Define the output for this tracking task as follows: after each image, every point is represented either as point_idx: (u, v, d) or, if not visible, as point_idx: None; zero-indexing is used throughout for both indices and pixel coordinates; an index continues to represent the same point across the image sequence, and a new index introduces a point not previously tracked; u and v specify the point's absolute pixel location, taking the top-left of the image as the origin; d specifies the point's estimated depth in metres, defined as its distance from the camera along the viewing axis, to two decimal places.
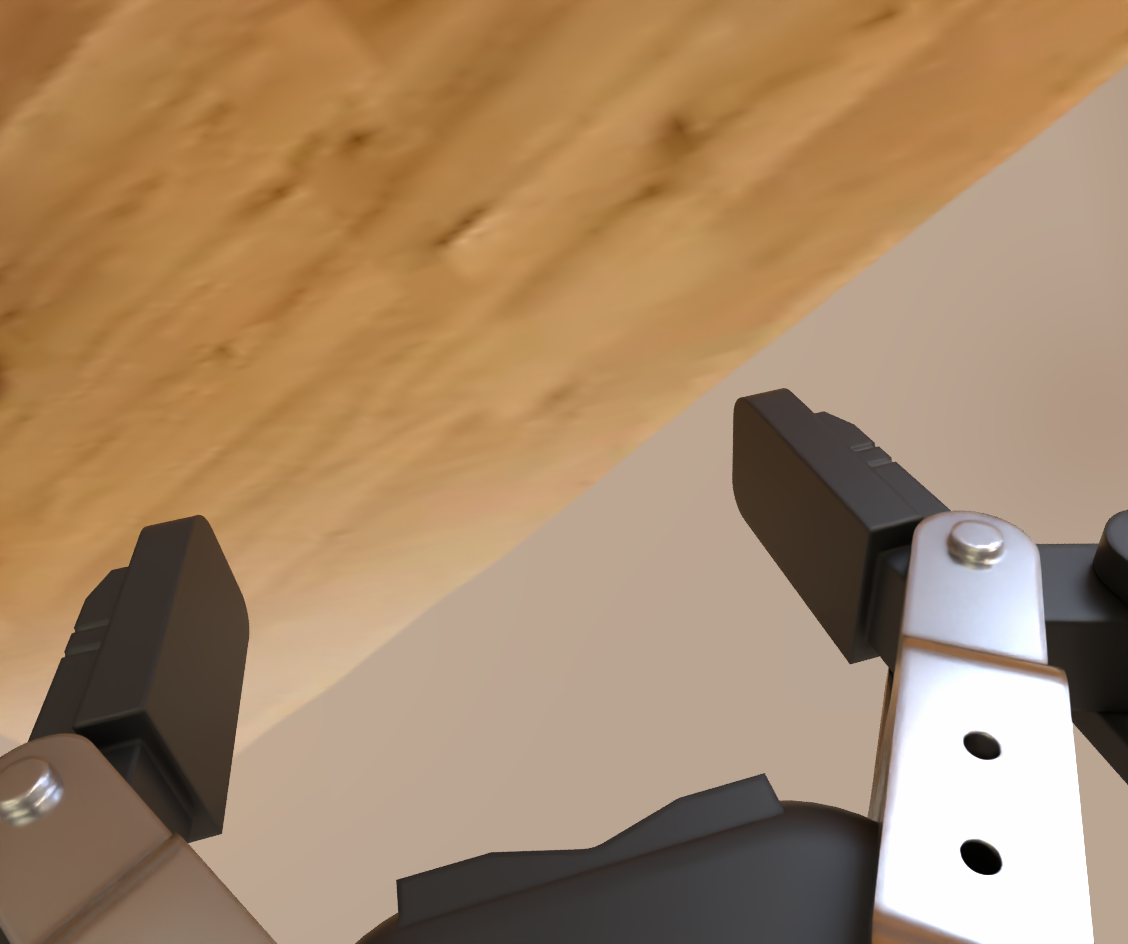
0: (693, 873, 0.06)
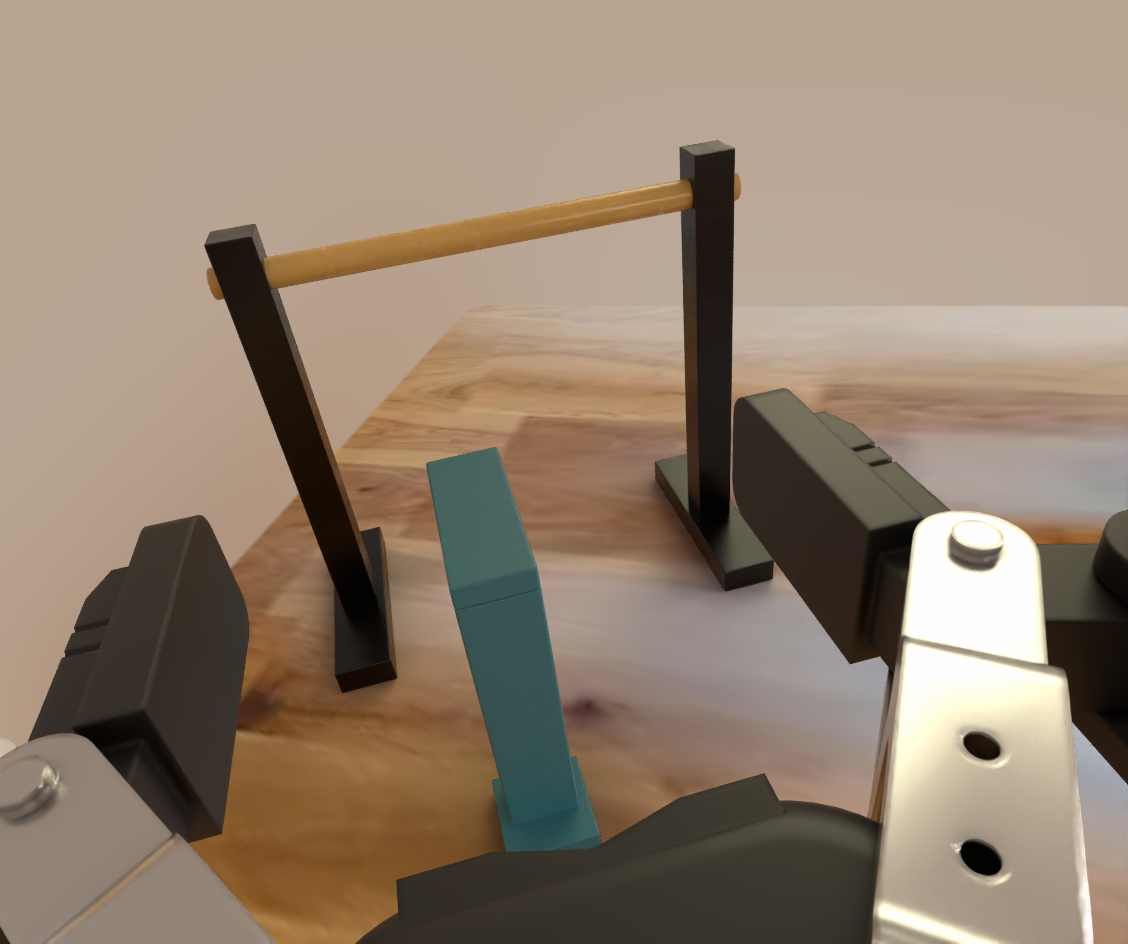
0: (693, 873, 0.06)
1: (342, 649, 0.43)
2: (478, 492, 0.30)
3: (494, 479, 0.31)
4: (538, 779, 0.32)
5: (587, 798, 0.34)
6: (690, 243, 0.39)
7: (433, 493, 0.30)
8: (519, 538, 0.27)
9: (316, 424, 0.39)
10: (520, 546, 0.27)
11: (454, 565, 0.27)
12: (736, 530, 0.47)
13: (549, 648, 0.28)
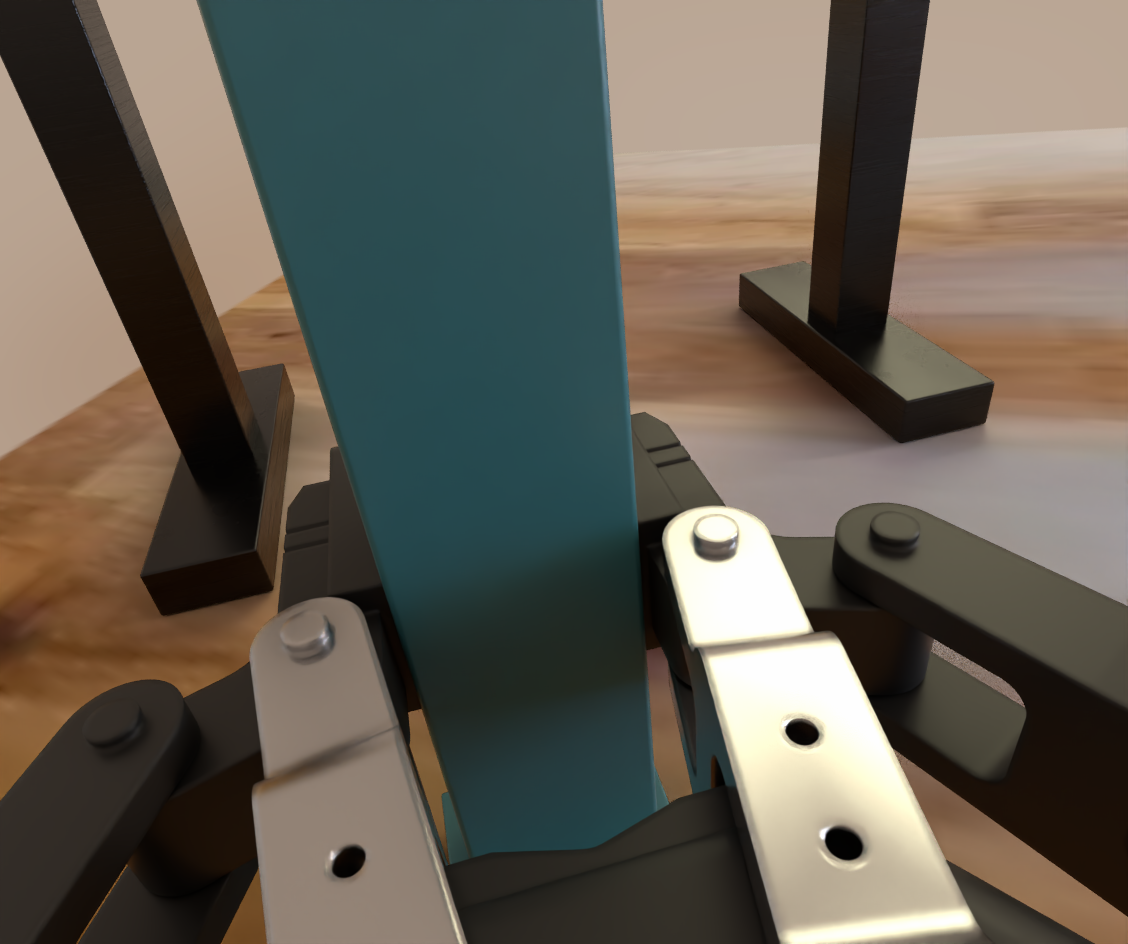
0: (693, 873, 0.06)
1: (168, 533, 0.22)
2: None
3: None
4: (559, 792, 0.11)
5: None
6: None
7: None
8: None
9: (81, 22, 0.18)
10: None
11: None
12: (907, 346, 0.26)
13: (616, 294, 0.07)
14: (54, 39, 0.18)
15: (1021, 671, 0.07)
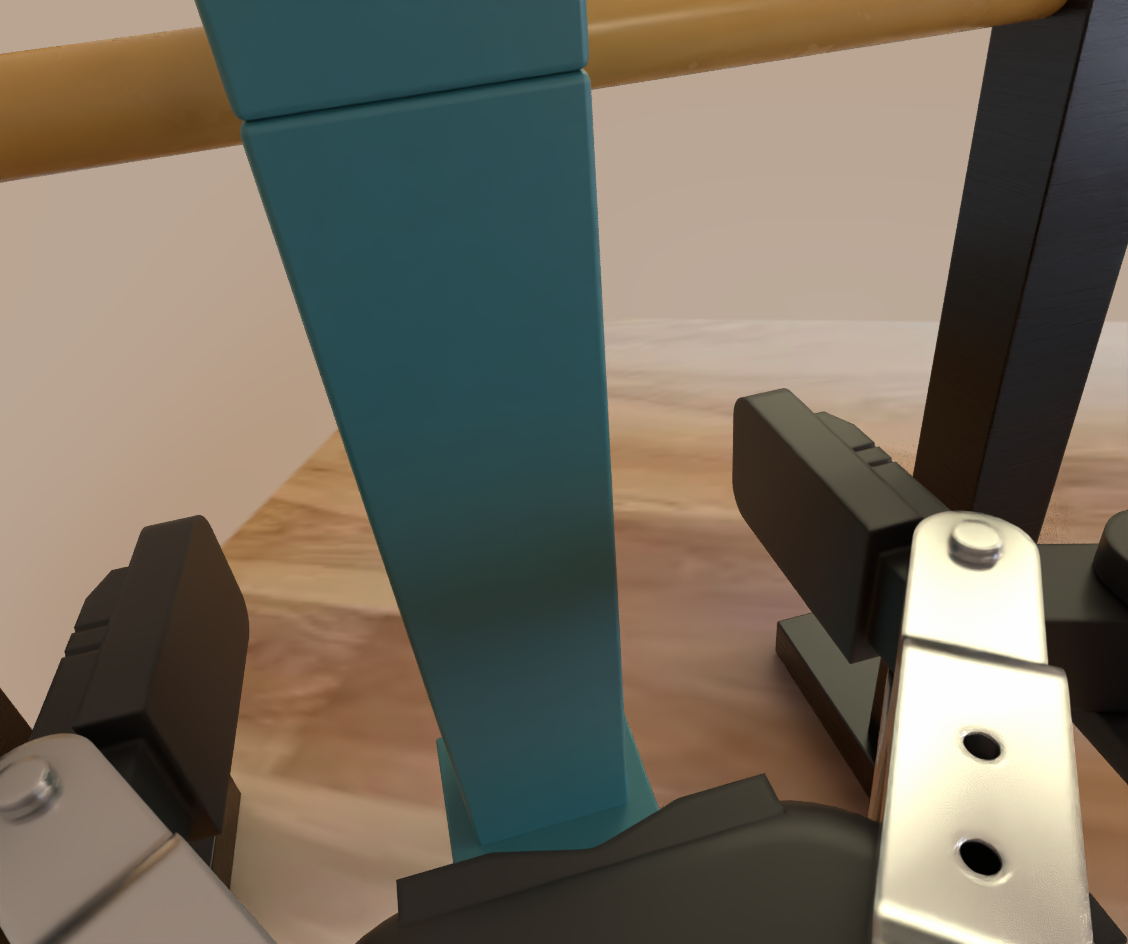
0: (693, 873, 0.06)
1: None
2: None
3: None
4: (542, 749, 0.13)
5: (646, 784, 0.15)
6: (1021, 135, 0.13)
7: None
8: None
9: None
10: None
11: None
12: None
13: (599, 361, 0.09)
14: None
15: None
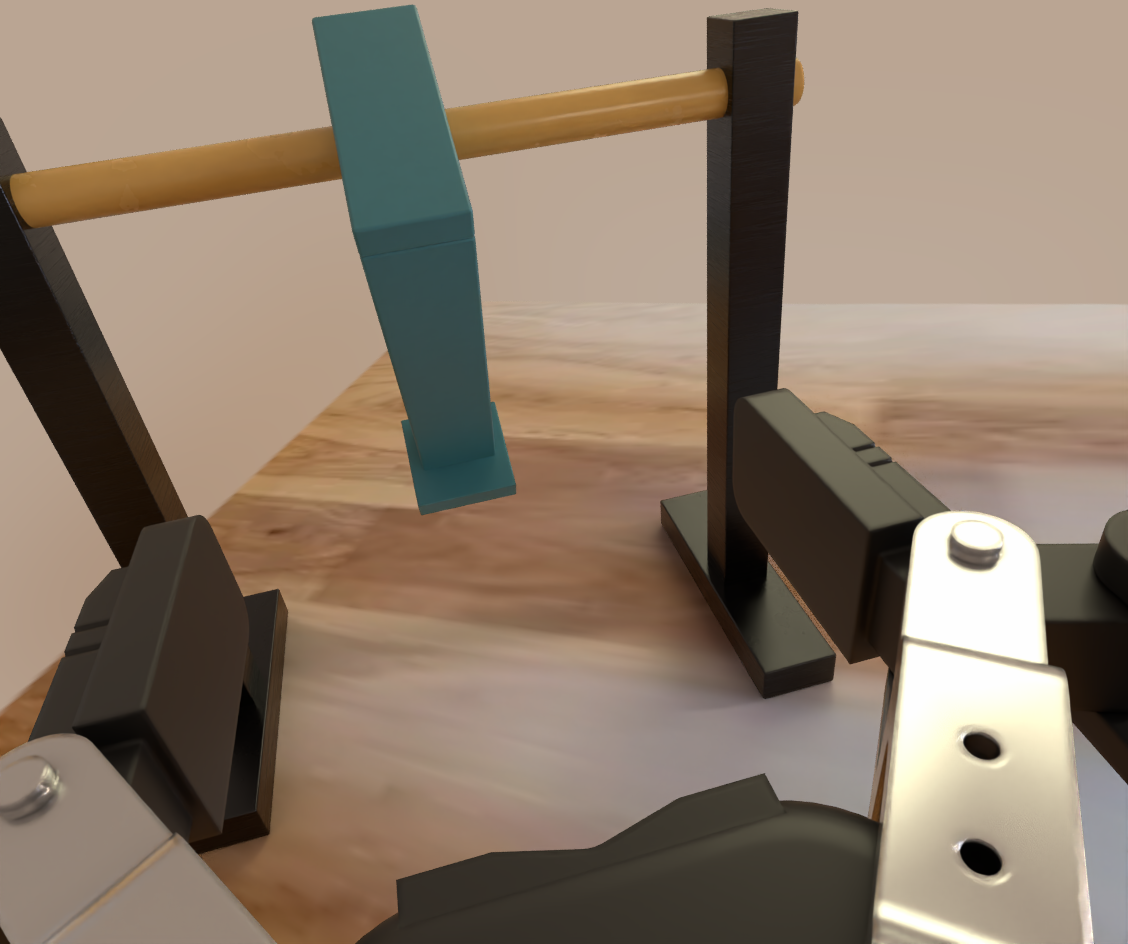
0: (693, 873, 0.06)
1: None
2: (389, 79, 0.21)
3: (412, 60, 0.22)
4: (454, 432, 0.29)
5: (504, 447, 0.32)
6: (720, 175, 0.25)
7: (324, 72, 0.21)
8: (447, 161, 0.20)
9: (130, 450, 0.25)
10: (450, 174, 0.20)
11: (358, 194, 0.20)
12: (778, 605, 0.33)
13: (479, 306, 0.23)
14: (110, 463, 0.25)
15: None
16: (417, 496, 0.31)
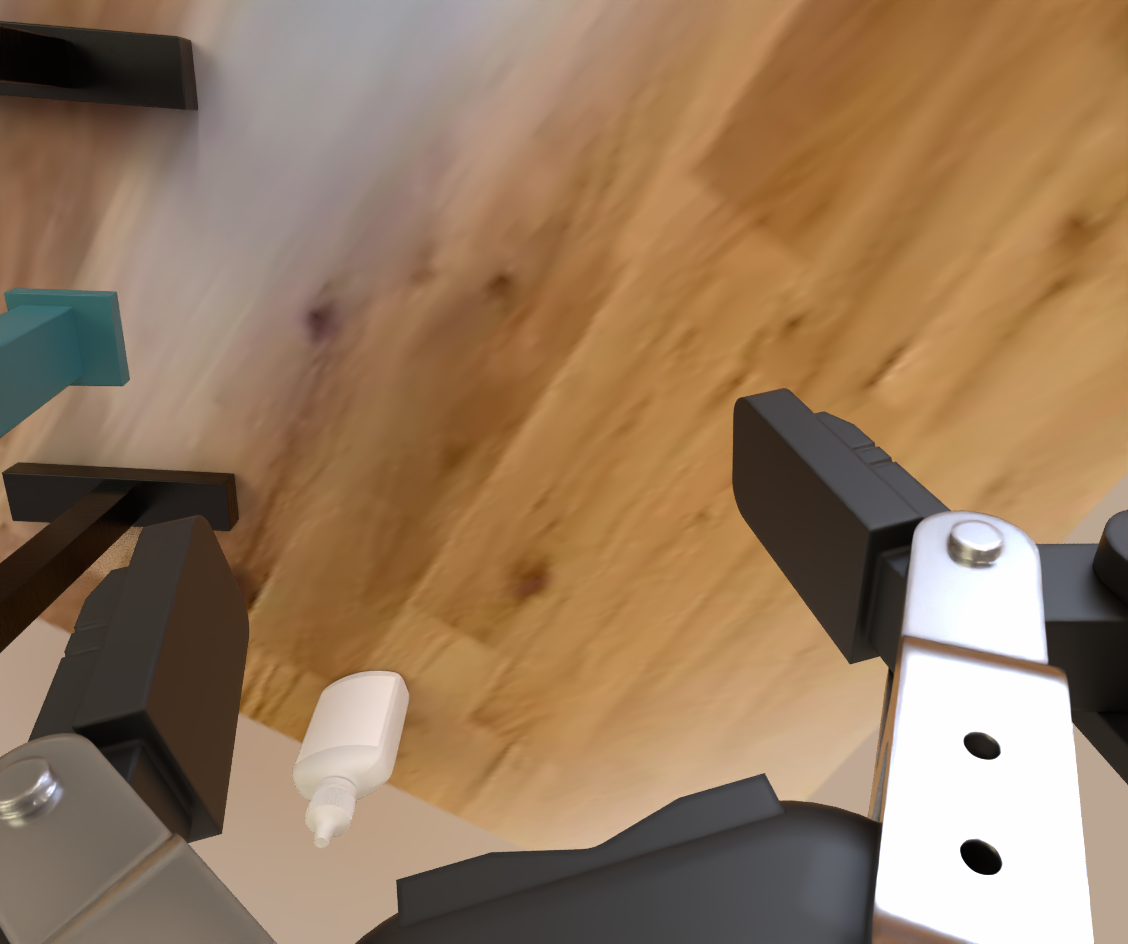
0: (693, 873, 0.06)
1: None
2: None
3: None
4: (52, 357, 0.31)
5: (63, 295, 0.33)
6: None
7: None
8: None
9: None
10: None
11: None
12: (108, 52, 0.35)
13: None
14: (5, 617, 0.33)
15: None
16: (112, 385, 0.35)
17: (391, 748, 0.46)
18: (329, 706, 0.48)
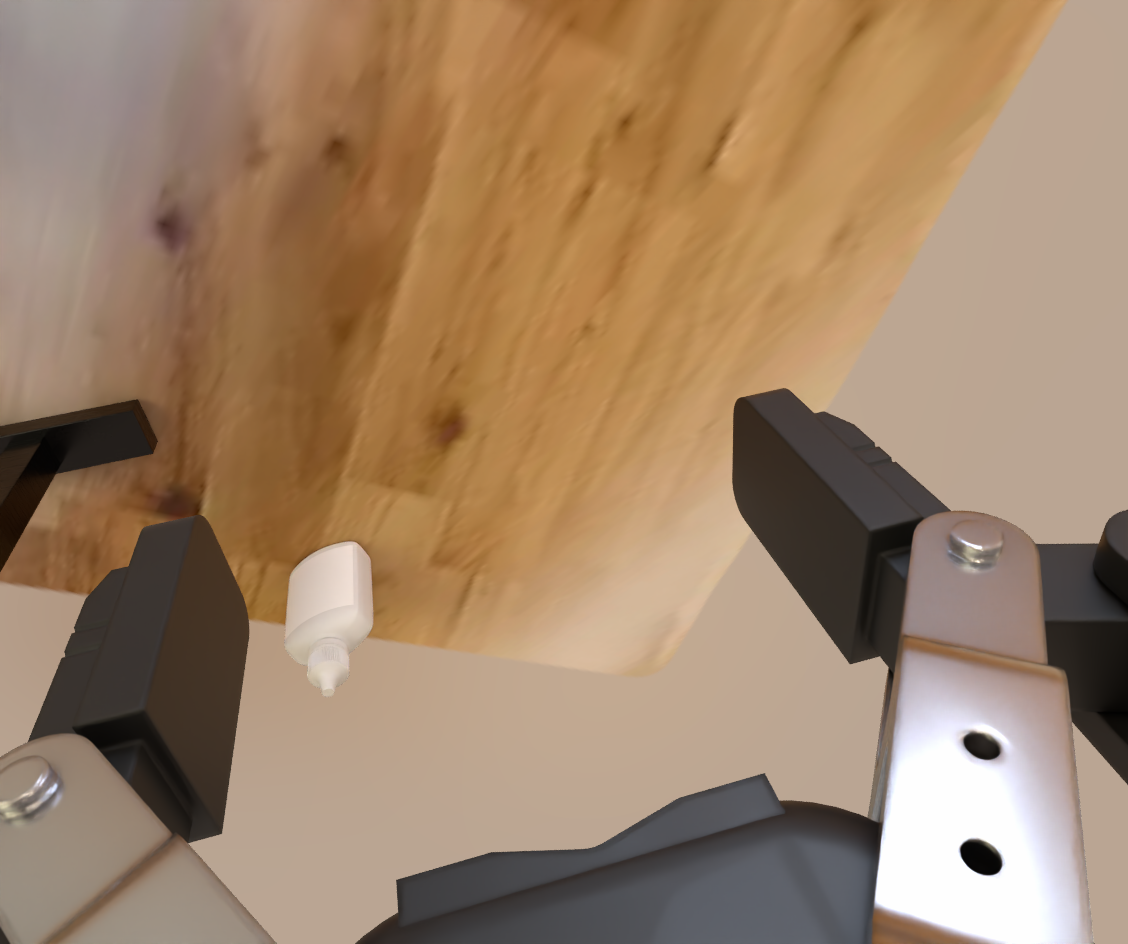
0: (693, 873, 0.06)
1: (120, 453, 0.46)
2: None
3: None
4: None
5: None
6: None
7: None
8: None
9: None
10: None
11: None
12: None
13: None
14: None
15: None
16: None
17: (366, 603, 0.51)
18: (300, 585, 0.52)
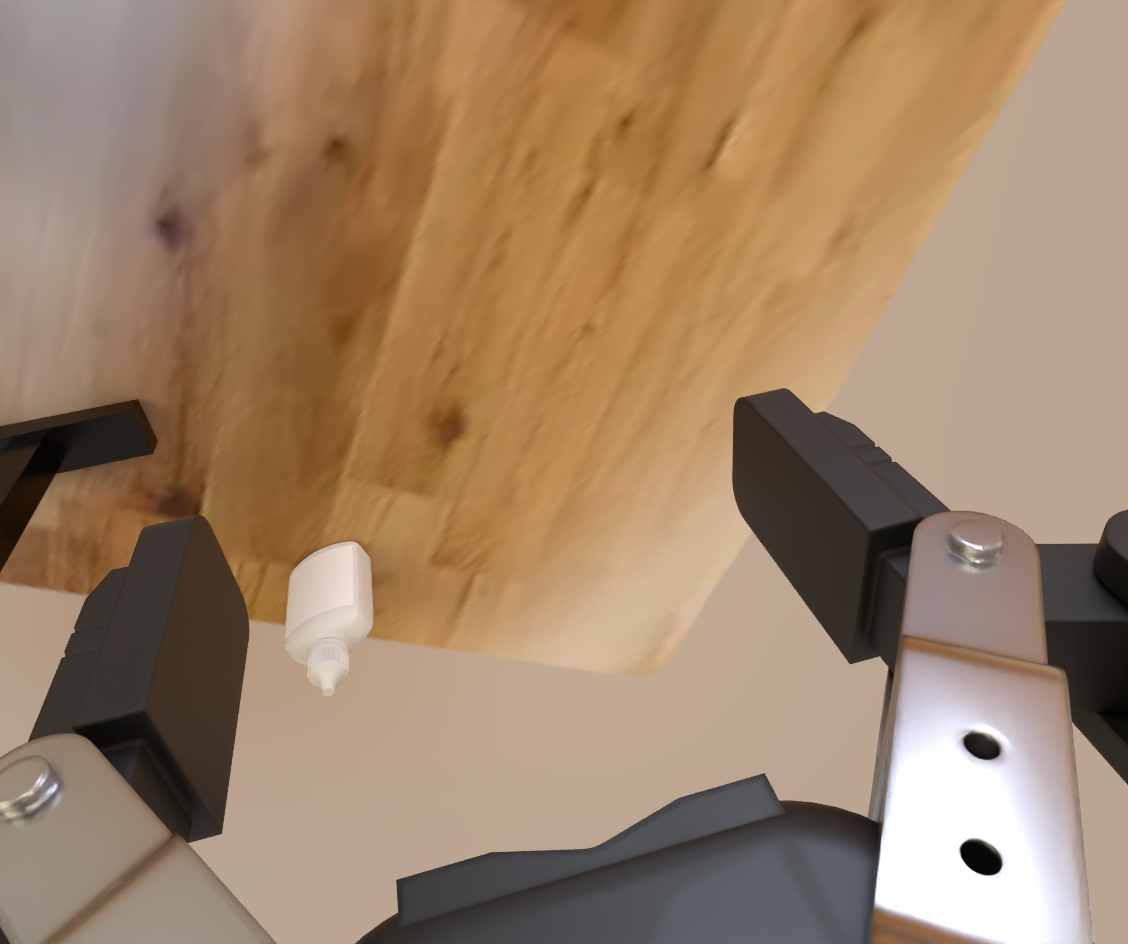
0: (693, 873, 0.06)
1: (120, 453, 0.46)
2: None
3: None
4: None
5: None
6: None
7: None
8: None
9: None
10: None
11: None
12: None
13: None
14: None
15: None
16: None
17: (366, 603, 0.51)
18: (300, 585, 0.52)
